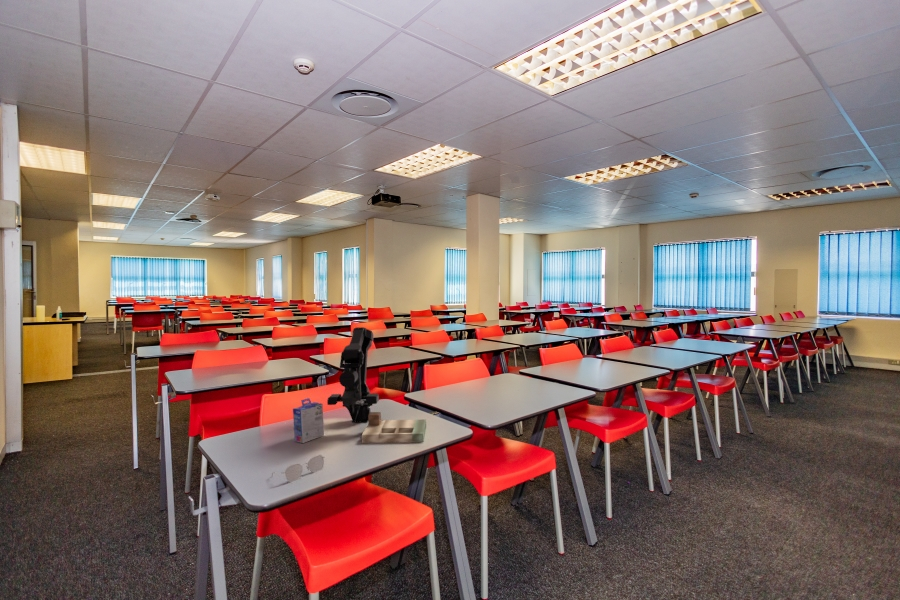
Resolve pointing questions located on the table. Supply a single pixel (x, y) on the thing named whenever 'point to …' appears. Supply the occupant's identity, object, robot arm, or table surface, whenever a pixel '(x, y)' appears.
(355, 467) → the table surface
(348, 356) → the robot arm
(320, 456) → the sunglasses
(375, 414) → the walnut block
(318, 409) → the ink cartridge box
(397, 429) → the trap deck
